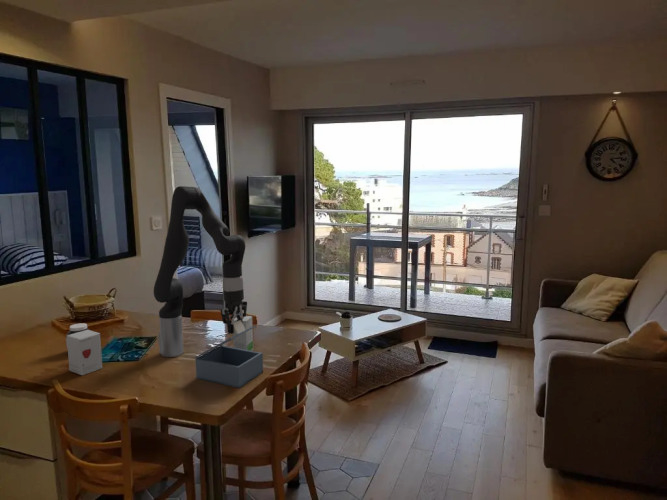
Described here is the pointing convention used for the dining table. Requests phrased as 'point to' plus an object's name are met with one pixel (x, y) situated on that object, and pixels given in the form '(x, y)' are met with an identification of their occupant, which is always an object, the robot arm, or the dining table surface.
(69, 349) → the supplement box
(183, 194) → the robot arm
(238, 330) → the carton flap
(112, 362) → the dining table surface
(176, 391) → the dining table surface
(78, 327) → the spread jar
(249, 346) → the skincare box
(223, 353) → the carton
